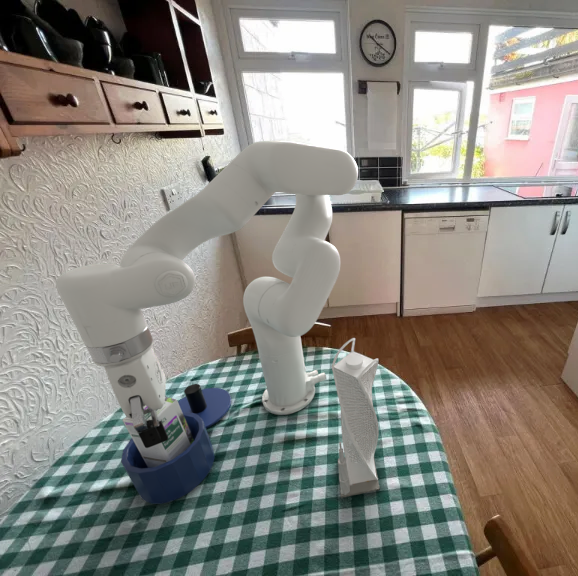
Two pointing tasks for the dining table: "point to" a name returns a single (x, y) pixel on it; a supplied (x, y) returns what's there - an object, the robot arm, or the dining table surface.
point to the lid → (206, 403)
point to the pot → (171, 467)
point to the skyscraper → (356, 422)
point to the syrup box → (174, 428)
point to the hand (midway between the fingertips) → (158, 424)
